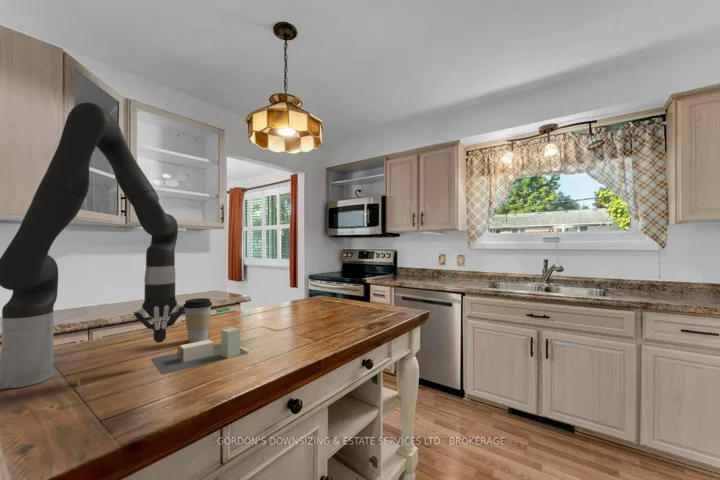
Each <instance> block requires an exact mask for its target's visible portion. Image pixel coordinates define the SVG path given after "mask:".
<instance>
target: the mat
mask: <svg viewBox="0 0 720 480" xmlns="http://www.w3.org/2000/svg"><path fill="white" fill-rule="evenodd" d="M248 354H250V352H248V351H246V350H245V349H243V348H242V347H240V355H237V356H234V357H231V358H226V357H223V356H221V343H218V344H213V355H212V356H208V357H204V358H200V359H195V360H191V361H187V362H182V363H181V362H180V361H179V360H178V352H175V353H171V354H170V353H169V354H167V355H166V354H165V355H161V356H156V357H151V358H150V360H151V362H152V363H153V364H154V366H155V368H156V369H157V371H158V372H159V373H160V375H161V376H164V375H167V374H171V373H175V372H180V371H184V370H188V369H192V368H196V367H200V366H204V365H207V364H212V363H217V362H219V361H224V360H228V359H232V358H236V357H240V356H245V355H248Z"/></svg>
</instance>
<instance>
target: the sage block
mask: <svg viewBox="0 0 720 480" xmlns="http://www.w3.org/2000/svg"><path fill="white" fill-rule="evenodd" d="M240 340H241V329H240V328H237V327H234V326H232V327H228V328H224V329H221V330H220V344H221V356H223V357H226V358H229V359H232V358H231V357H233V358H235V357H234V356H237V355H240V348H241V341H240ZM237 357H238V356H237Z"/></svg>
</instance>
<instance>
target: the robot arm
mask: <svg viewBox="0 0 720 480" xmlns="http://www.w3.org/2000/svg"><path fill="white" fill-rule="evenodd" d="M96 148H97V149H98V150H99V151H100V152H101V153H102V155H103V156H104V157H105V158H106V160H107V161H108V163H109V165H110V166H111V169H112V171H113V174H114V176H115V179H116V181H117V184H118V186H119V188H120V189H121V191H122V192H123V194H124V196H125V198H126V199H127V200H128V201H129V204H130V205H131V206H132V207H133V210H134V212H135V215H136V217H137V219H138V222H139V224H140V227H142V229H143V230H144V231H145V232H146V233H147V234H148V235H150V236H151V241H150V245H149V246H148V247H147V248H146V251H145V252H146V254H145V270H144V278H143V282H144V298H143V299H144V302H143V303H142V305H141V308H139V309H138V310H136V311H135V310H134V312H133V316H134V317H135V318H136V319H137V320H138V321H139V322H140V323H142V325H143V326H145V327H146V328H147V329H149V330H153V331H152V332H153V334H152V339H153V341H154V342H155V343H156V344H157V343H158V344H160V343H164V341H165V340H166V336H167V335H166V334H167V328H168V327H170V326H171V327H172V326H173V325H174V324H175V323H176V322H177V320H178V319H179V318H180V317H181V315H182V314H183V313H184V312H185V308H184V307H183V305H182V306H181V305H179V304H178V302H177V299H176V266H175V262H176V255H175V254H176V252H175V250H176V245H177V240H178V235H179V234H178V233H179V225H178V221H177V219H176V218H175V216H173V215H172V214H168V213H166V212H165V210H164V209H163V206H162V205H161V203H160V198H159V195H158V193H157V191H156V190H155V188H154V187H153V186H152V183H151V182H150V181H149V179H148V178H147V176H146V175H145V173H144V172H143V170H142V168H141V167H140V165H139V164H138V162H137V161H136V159H135V157H134V156H133V154H132V152H131V150H130V148H129V145H128V144H127V141H126V138H125V137H124V133H123V131H122V129H121V127H120V125H119V123H118V121H117V120H116V118H114V117H113V116H112V115H111V114H110V113H108V112H107V111H106V110H105V109H104V108H103V107H101V106H100V105H99V104H96V103H93V102H81V103H77V104H76V105H74V107H73V108H71V109H70V111H69V113H68V115H67V118H66V120H65V123H64V127H63V129H62V133H61V137H60V140H59V143H58V145H57V148H56V150H55V152H54V155H53V156H52V158H51V161H50V162H49V165H48V167H47V169H46V172H45V174H44V175H43V177H42V179H41V181H40V183H39V185H38V187H37V189H36V191H35V193H34V195H33V197H32V199H31V201H30V202H31V203H30V205H29V207H28V209H27V211H26V212H25V214H24V217H23V218H22V221H21V223H20V226H19V228H18V230H17V231H16V234H15V236H13V238H12V240H11V242H10V243H9V244H8V246H7V247H6V249H5V251H3V254H2V255H1V256H0V287H1V288H3V289H6V290H9V291H12V294H11V297H10V299H9V300H8V301H7V302H6V303H5V304H4V305H3V307H2V310H1V349H0V390H5V389H16V388H23V387H28V386H29V387H30V386H32V385H36V384H39V383H43V382H45V381H47V380H49V379H50V378H53V376H54V306H55V303H56V301H57V299H58V290H59V289H58V286H59V267H58V263H57V261H56V260H55V259H54V258H53V256H51V255H50V254H49V252H50V249H51V247H52V245H53V243H54V241H55V240H56V238H57V237H58V236H59V235H60V234H61V232H63V230H64V229H66V228H67V227H68V225H69V224H70V223H72V221H73V220H74V219H75V217H76V216H77V215H78V213H79V212H80V210H81V209H82V206H83V203H84V201H85V199H86V197H87V194H88V192H89V186H90V164H91V159H92V156H93V153H94V152H95V150H96ZM48 254H49V255H48ZM173 311H174V313H173ZM145 312H146V313H147V315H148V316H149V317H151V320H152V322H151V323H150V322H149V320H147V319H146V318H145ZM171 313H172V315H171ZM170 315H171V316H170ZM169 316H170V317H169ZM168 318H169V319H168Z"/></svg>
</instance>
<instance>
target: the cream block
mask: <svg viewBox="0 0 720 480" xmlns="http://www.w3.org/2000/svg"><path fill="white" fill-rule="evenodd" d="M213 345H214V341H212V340H211V339H207V340H205V341H200V342H195V343H192V342H189V343H186V344H181V345H179V344H178V345H177V353H178V360H179V361H180V362H181V363H182V362H187V361H191V360H195V359H200V358H204V357H208V356H212V355H213Z"/></svg>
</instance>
